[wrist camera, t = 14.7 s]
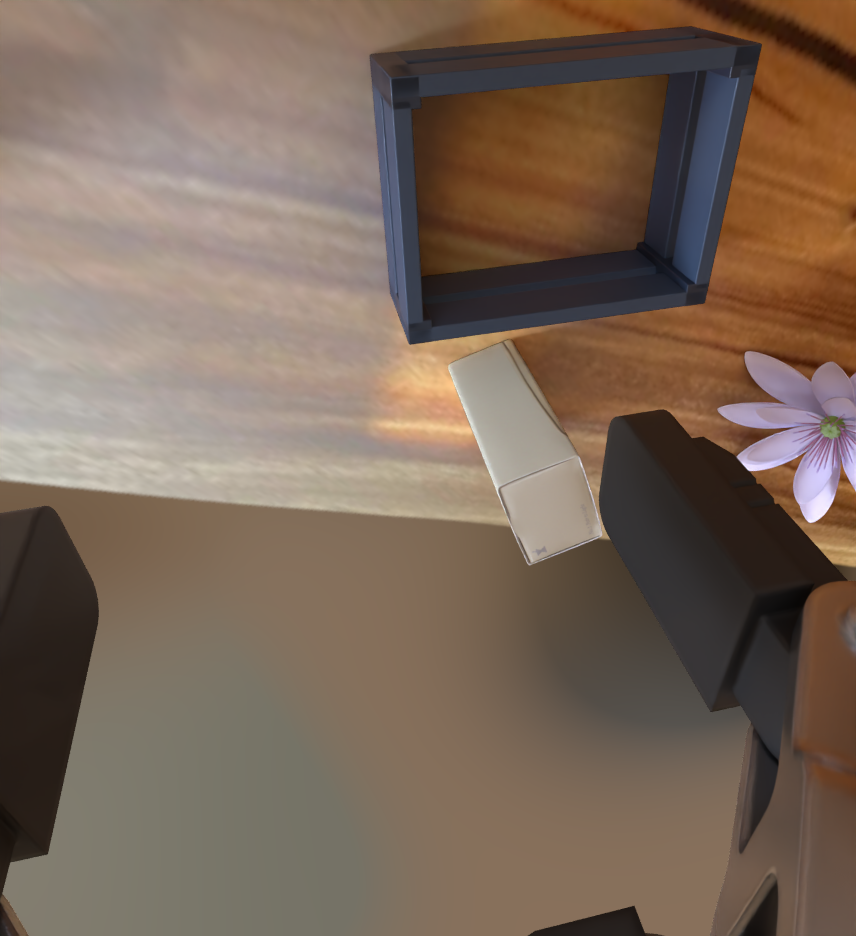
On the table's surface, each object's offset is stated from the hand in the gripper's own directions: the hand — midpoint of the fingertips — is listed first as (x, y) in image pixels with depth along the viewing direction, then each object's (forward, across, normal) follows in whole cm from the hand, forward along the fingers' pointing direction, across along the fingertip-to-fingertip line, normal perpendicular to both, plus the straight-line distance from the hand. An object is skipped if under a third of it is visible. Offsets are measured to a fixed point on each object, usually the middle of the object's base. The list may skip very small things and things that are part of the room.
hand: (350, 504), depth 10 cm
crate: (+28, -12, +4) cm, 31 cm away
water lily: (+28, -31, +21) cm, 47 cm away
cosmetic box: (+28, -10, +17) cm, 34 cm away
